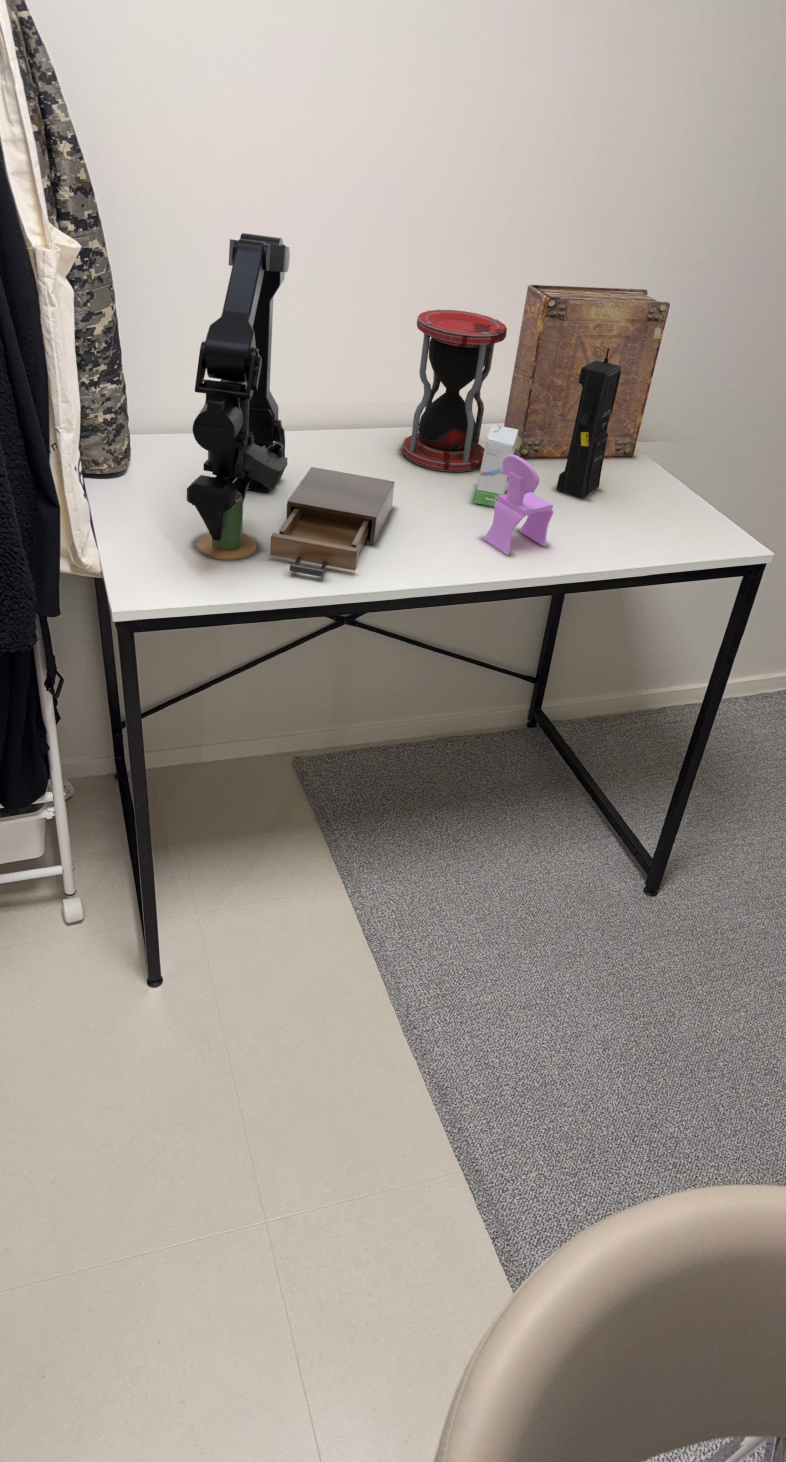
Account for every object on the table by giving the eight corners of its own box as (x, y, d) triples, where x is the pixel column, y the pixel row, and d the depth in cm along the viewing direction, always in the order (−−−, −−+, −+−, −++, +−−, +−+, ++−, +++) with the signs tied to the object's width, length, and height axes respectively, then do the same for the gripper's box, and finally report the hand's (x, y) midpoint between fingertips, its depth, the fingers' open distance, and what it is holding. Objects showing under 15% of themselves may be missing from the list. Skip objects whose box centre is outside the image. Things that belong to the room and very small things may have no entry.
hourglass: (430, 476, 191) (449, 336, 177) (386, 444, 202) (400, 310, 188) (501, 467, 199) (525, 332, 184) (455, 437, 210) (474, 307, 195)
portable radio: (583, 502, 189) (614, 362, 175) (553, 492, 192) (581, 353, 177) (599, 489, 195) (631, 353, 180) (570, 480, 197) (599, 345, 183)
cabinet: (373, 545, 165) (376, 517, 163) (285, 529, 167) (287, 501, 164) (391, 508, 178) (394, 481, 175) (309, 493, 179) (311, 466, 176)
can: (236, 552, 158) (237, 503, 153) (207, 547, 158) (207, 497, 153) (245, 540, 161) (247, 491, 157) (217, 535, 162) (217, 486, 157)
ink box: (479, 486, 190) (490, 422, 183) (507, 491, 190) (519, 427, 183) (473, 503, 183) (484, 438, 176) (502, 509, 183) (514, 443, 176)
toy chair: (551, 548, 172) (570, 460, 163) (511, 557, 167) (529, 468, 159) (518, 527, 177) (535, 442, 168) (479, 536, 172) (494, 449, 164)
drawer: (349, 583, 153) (351, 562, 151) (262, 567, 154) (263, 546, 152) (374, 533, 168) (376, 513, 166) (294, 519, 169) (295, 499, 167)
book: (612, 440, 218) (648, 289, 201) (633, 457, 211) (672, 302, 194) (500, 441, 211) (527, 284, 193) (518, 458, 204) (548, 297, 186)
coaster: (188, 553, 157) (188, 551, 156) (207, 529, 164) (207, 527, 164) (246, 564, 156) (246, 561, 156) (263, 539, 163) (263, 537, 163)
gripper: (264, 459, 141) (260, 563, 150) (299, 416, 156) (294, 513, 165) (184, 445, 142) (185, 549, 151) (228, 403, 157) (226, 500, 166)
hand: (226, 527), depth 158 cm, fingers open, 9 cm apart
